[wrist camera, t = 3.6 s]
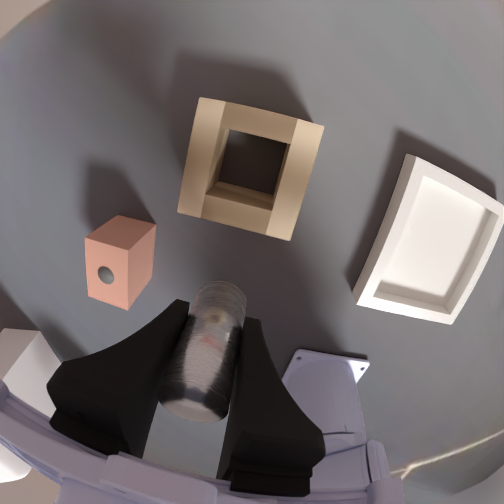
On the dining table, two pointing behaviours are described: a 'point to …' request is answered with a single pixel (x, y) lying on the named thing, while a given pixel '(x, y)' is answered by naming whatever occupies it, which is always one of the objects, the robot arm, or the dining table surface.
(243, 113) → the bored block
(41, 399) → the milk
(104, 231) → the block
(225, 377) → the cylinder
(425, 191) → the tray
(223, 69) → the dining table surface
